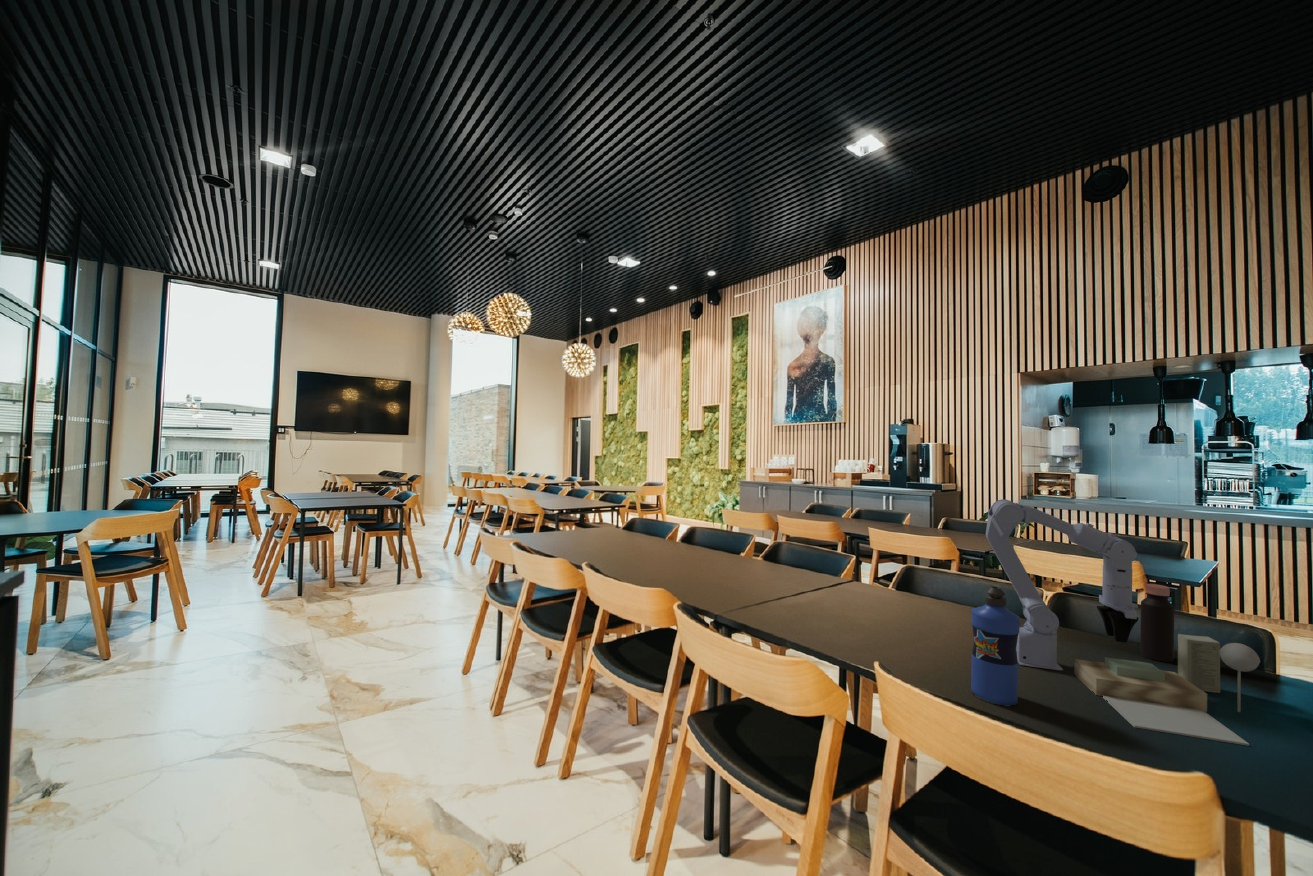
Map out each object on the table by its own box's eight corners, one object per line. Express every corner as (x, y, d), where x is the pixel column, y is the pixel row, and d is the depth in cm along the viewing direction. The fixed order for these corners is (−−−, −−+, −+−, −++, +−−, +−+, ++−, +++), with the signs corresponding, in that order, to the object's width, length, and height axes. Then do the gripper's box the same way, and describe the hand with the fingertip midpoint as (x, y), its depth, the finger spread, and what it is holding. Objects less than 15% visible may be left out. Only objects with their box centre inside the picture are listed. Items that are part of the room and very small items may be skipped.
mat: (1134, 727, 108) (1134, 725, 108) (1102, 697, 121) (1102, 695, 121) (1249, 746, 102) (1249, 744, 102) (1202, 712, 115) (1202, 710, 115)
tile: (1116, 675, 124) (1117, 666, 124) (1104, 665, 130) (1105, 657, 130) (1165, 681, 121) (1165, 673, 121) (1150, 671, 127) (1150, 663, 127)
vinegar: (1147, 660, 144) (1147, 587, 144) (1135, 651, 150) (1136, 581, 151) (1179, 664, 142) (1179, 590, 142) (1166, 655, 148) (1166, 584, 148)
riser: (1096, 695, 122) (1096, 678, 122) (1074, 674, 133) (1074, 659, 133) (1207, 712, 115) (1207, 693, 115) (1174, 688, 127) (1174, 672, 127)
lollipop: (1210, 705, 119) (1211, 638, 119) (1234, 704, 119) (1234, 638, 119) (1243, 719, 112) (1244, 649, 113) (1268, 718, 113) (1268, 649, 113)
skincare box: (1208, 686, 129) (1209, 636, 129) (1221, 694, 124) (1221, 642, 125) (1176, 682, 131) (1176, 633, 131) (1187, 689, 126) (1188, 639, 127)
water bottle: (1003, 710, 114) (1005, 595, 114) (961, 691, 122) (963, 584, 123) (1027, 701, 118) (1028, 590, 119) (985, 684, 127) (986, 580, 127)
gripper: (1152, 594, 125) (1152, 651, 125) (1122, 580, 139) (1121, 631, 139) (1116, 591, 128) (1115, 647, 128) (1089, 577, 142) (1089, 628, 141)
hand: (1116, 638), depth 133 cm, fingers open, 4 cm apart
